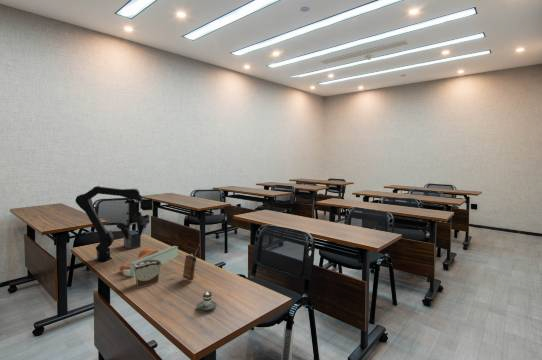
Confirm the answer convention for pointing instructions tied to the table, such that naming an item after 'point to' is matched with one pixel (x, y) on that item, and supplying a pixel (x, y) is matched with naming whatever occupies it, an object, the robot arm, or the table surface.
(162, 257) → the chute mount
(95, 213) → the robot arm
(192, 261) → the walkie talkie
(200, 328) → the table surface
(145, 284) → the food container
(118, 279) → the table surface
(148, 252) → the crank
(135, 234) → the small box
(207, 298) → the grey knobbed lid
